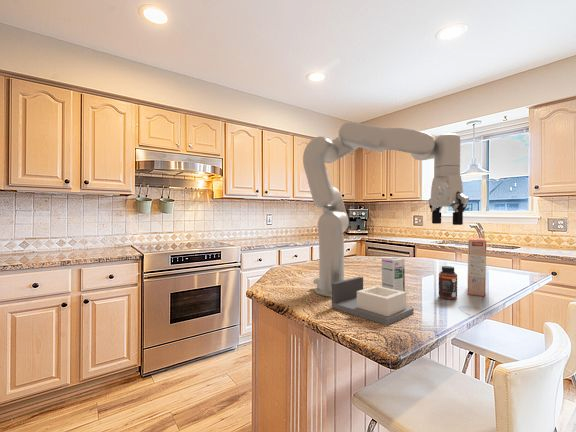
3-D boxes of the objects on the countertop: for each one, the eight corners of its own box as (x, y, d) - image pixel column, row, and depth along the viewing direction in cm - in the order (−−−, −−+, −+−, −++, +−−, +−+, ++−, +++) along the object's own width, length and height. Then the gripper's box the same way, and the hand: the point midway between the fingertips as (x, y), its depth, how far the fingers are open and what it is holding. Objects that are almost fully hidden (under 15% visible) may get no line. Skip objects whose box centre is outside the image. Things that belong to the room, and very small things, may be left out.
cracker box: (486, 297, 108) (487, 240, 108) (467, 295, 111) (467, 239, 111) (485, 289, 120) (485, 237, 120) (467, 287, 123) (468, 236, 123)
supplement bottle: (459, 300, 104) (460, 268, 104) (441, 299, 105) (441, 268, 105) (453, 296, 110) (454, 265, 110) (436, 295, 111) (436, 265, 111)
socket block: (356, 307, 92) (356, 291, 92) (376, 300, 99) (376, 285, 99) (387, 316, 84) (387, 298, 84) (406, 308, 91) (406, 292, 91)
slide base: (331, 307, 97) (331, 283, 97) (359, 298, 106) (359, 276, 106) (387, 325, 82) (387, 296, 81) (413, 313, 91) (413, 287, 91)
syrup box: (394, 301, 104) (394, 259, 104) (381, 296, 109) (381, 257, 109) (405, 298, 107) (405, 258, 107) (392, 294, 112) (392, 256, 112)
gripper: (420, 175, 106) (420, 223, 106) (456, 168, 89) (456, 225, 89) (438, 176, 108) (438, 223, 108) (478, 169, 91) (477, 225, 91)
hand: (446, 224), depth 99 cm, fingers open, 9 cm apart
